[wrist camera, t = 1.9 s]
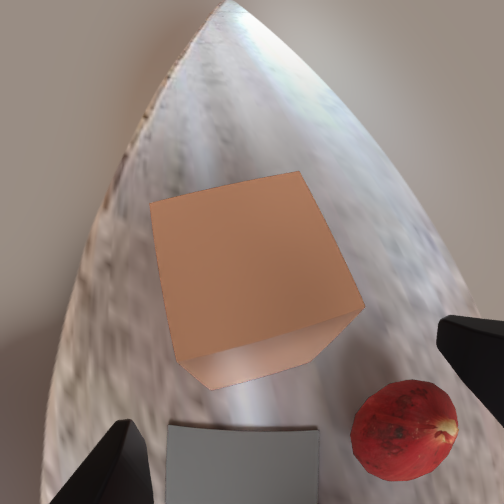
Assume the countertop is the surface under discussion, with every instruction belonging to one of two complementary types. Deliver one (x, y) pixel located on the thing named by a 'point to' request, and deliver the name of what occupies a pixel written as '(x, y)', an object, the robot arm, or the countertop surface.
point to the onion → (404, 430)
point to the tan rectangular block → (250, 279)
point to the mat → (241, 466)
